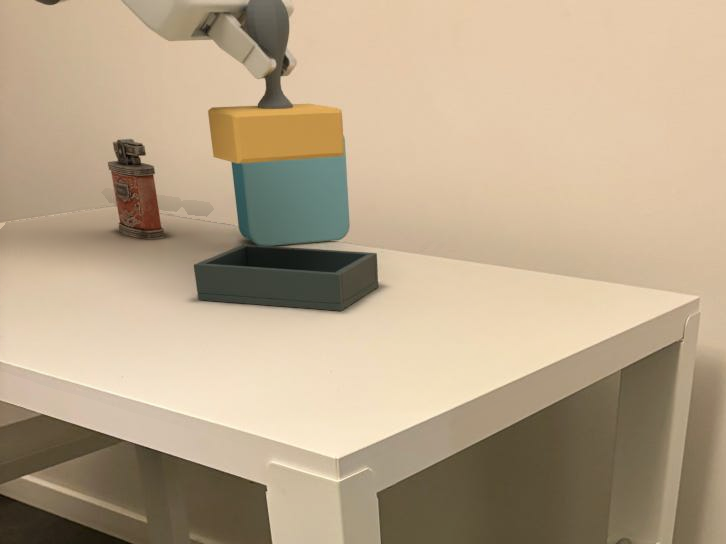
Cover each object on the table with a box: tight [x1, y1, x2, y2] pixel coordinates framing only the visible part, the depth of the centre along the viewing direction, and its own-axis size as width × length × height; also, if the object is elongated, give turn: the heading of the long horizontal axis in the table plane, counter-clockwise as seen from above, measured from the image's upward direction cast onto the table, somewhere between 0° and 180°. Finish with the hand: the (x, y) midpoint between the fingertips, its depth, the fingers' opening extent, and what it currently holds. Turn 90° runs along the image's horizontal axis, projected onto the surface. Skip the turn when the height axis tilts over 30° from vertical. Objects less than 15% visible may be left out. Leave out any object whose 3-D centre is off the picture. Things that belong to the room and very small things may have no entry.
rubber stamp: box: [207, 0, 344, 164], centre depth 82 cm, size 10×6×12 cm, turn 125°
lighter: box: [107, 138, 166, 240], centre depth 114 cm, size 8×3×10 cm, turn 43°
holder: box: [193, 244, 379, 312], centre depth 91 cm, size 10×14×3 cm
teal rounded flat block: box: [230, 134, 351, 247], centre depth 111 cm, size 12×4×12 cm, turn 119°
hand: (279, 71), depth 81 cm, fingers closed on rubber stamp, 3 cm apart
